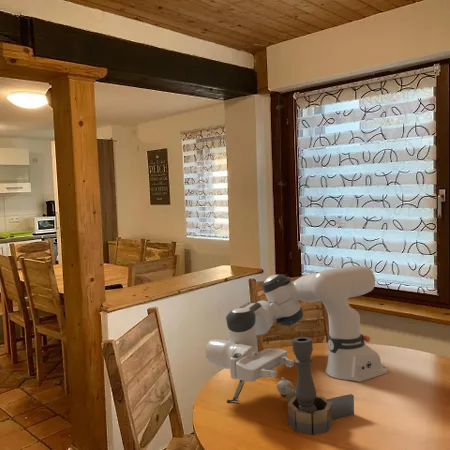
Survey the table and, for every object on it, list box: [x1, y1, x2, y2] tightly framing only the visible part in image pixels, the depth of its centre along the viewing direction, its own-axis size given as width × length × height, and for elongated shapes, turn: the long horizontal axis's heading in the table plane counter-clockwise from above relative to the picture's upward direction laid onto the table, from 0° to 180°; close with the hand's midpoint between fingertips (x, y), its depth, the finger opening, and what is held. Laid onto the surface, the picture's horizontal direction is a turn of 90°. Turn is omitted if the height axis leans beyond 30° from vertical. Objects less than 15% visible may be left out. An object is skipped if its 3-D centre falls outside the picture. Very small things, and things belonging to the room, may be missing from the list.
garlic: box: [276, 377, 294, 396], centre depth 157 cm, size 6×5×5 cm
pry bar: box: [226, 380, 245, 405], centre depth 161 cm, size 21×7×1 cm, turn 166°
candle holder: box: [291, 336, 317, 412], centre depth 135 cm, size 6×6×25 cm
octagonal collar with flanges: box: [285, 384, 355, 436], centre depth 142 cm, size 20×20×6 cm
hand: (284, 369), depth 140 cm, fingers open, 8 cm apart
